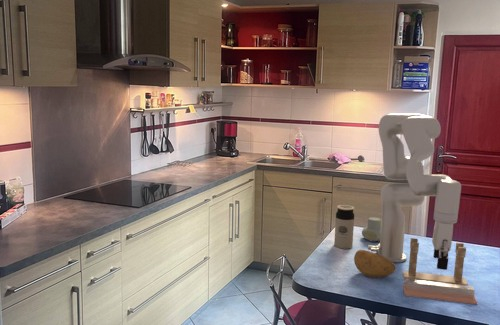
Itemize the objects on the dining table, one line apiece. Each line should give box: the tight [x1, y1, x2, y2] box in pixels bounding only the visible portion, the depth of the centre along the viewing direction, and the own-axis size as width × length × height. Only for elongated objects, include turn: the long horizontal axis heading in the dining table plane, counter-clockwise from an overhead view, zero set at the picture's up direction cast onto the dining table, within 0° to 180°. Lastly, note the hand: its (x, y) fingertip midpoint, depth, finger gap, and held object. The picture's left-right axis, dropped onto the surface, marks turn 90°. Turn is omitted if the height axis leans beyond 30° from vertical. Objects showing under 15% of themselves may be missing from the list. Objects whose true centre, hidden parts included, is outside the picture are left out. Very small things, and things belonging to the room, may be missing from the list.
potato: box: [353, 249, 397, 278], centre depth 180 cm, size 9×16×9 cm, turn 53°
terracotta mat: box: [402, 282, 478, 305], centre depth 166 cm, size 23×10×1 cm, turn 76°
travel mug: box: [333, 204, 355, 250], centre depth 212 cm, size 8×8×18 cm
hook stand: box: [402, 237, 469, 286], centre depth 177 cm, size 22×6×14 cm, turn 76°
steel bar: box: [405, 279, 475, 298], centre depth 166 cm, size 22×3×3 cm, turn 75°
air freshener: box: [361, 216, 381, 242], centre depth 223 cm, size 11×8×10 cm
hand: (439, 263), depth 165 cm, fingers open, 9 cm apart
